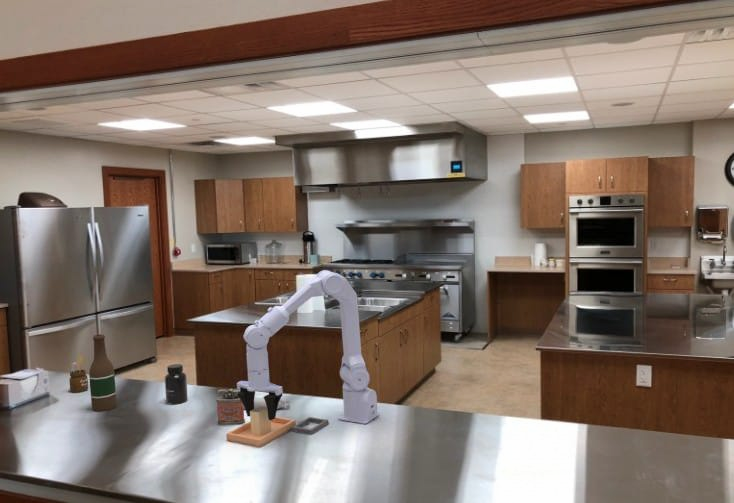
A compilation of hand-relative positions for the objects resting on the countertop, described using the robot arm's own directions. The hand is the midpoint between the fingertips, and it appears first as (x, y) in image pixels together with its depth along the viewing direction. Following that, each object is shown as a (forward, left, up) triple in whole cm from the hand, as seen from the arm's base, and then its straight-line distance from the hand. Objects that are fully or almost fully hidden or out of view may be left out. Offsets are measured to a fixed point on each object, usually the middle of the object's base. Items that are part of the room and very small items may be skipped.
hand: (261, 417), depth 163 cm
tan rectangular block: (0, 0, -4) cm, 4 cm away
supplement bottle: (+45, -11, -5) cm, 47 cm away
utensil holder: (+89, -6, -5) cm, 89 cm away
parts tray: (0, 0, -5) cm, 5 cm away
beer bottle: (+63, +3, -5) cm, 63 cm away
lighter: (+14, -3, -5) cm, 15 cm away
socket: (-10, -9, -5) cm, 14 cm away
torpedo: (+14, -16, -5) cm, 22 cm away
